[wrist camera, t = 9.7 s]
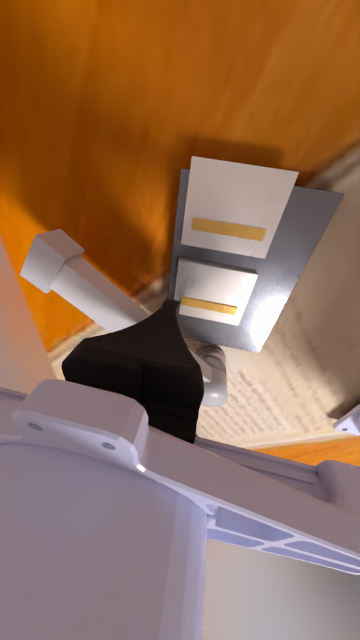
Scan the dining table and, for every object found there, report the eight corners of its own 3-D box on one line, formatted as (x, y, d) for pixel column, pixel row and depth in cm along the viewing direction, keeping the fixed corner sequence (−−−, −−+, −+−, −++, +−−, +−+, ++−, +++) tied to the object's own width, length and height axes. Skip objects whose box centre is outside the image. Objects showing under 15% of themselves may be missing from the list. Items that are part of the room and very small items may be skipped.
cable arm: (234, 380, 16) (236, 399, 14) (206, 391, 17) (206, 410, 16) (60, 228, 11) (35, 234, 9) (43, 264, 12) (19, 274, 11)
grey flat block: (342, 181, 9) (368, 180, 8) (242, 374, 18) (244, 392, 17) (184, 157, 10) (178, 151, 8) (163, 358, 19) (157, 374, 17)
